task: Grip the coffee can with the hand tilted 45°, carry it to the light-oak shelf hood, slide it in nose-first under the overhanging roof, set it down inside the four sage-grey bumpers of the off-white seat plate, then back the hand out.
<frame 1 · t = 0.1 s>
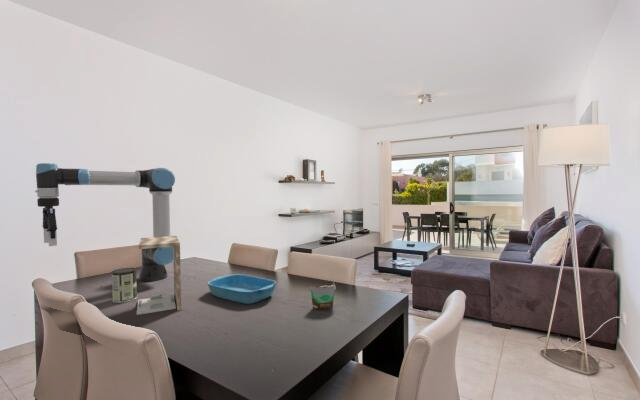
hand: (50, 244, 148), 28 cm above the table, tool pointing down, fingers open, 13 cm apart
coffee can: (124, 299, 156), on the table
shelf hood: (156, 305, 147), on the table
seat plate: (156, 305, 147), on the table
food container: (325, 308, 142), on the table
casserole dish: (241, 296, 161), on the table
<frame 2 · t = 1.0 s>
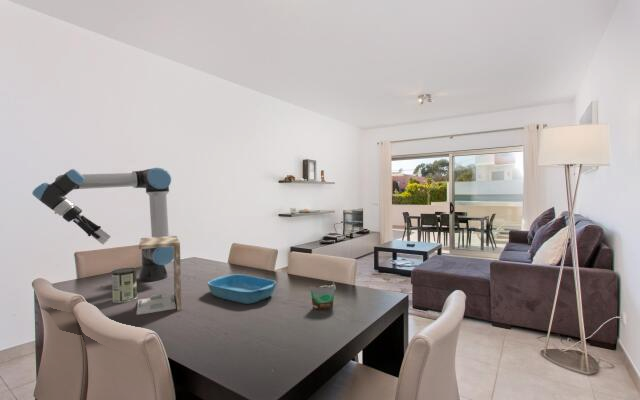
hand: (107, 240, 160), 28 cm above the table, tool tilted 45°, fingers open, 13 cm apart
nothing on the table moved.
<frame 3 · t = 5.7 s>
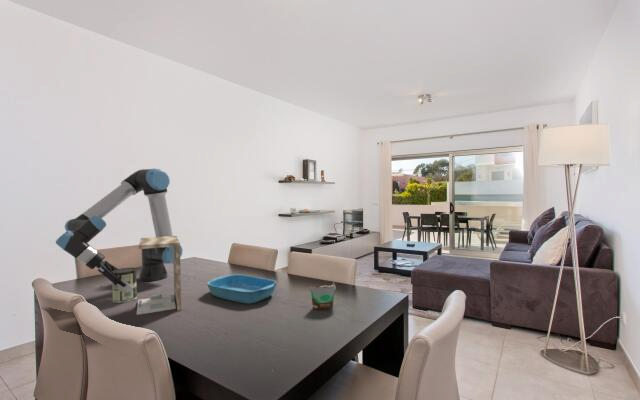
hand: (131, 286, 157), 6 cm above the table, tool tilted 45°, fingers closed on coffee can, 10 cm apart
coffee can: (124, 299, 156), on the table, touching gripper
everything else where it was.
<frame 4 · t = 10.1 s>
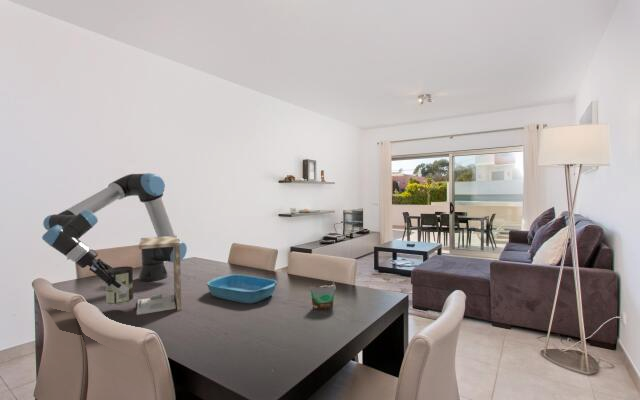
hand: (127, 287, 142), 10 cm above the table, tool tilted 45°, fingers closed on coffee can, 10 cm apart
coffee can: (119, 301, 141), point 4 cm above the table, touching gripper
everything else where it was.
when the fingers open (8 cm above the table, at t = 14.6 s): coffee can drops 1 cm, resting on seat plate.
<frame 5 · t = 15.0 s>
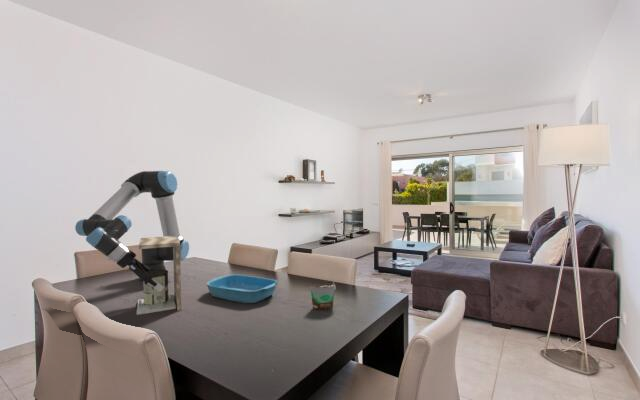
hand: (161, 285, 148), 9 cm above the table, tool tilted 45°, fingers open, 13 cm apart
coffee can: (156, 303, 147), point 1 cm above the table, touching seat plate
everything else where it was.
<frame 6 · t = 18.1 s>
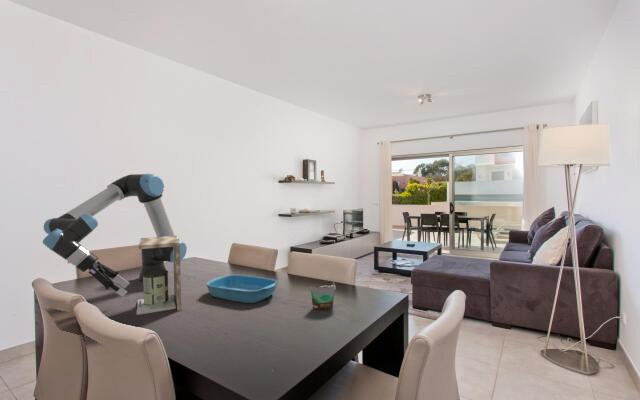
hand: (126, 289, 142), 9 cm above the table, tool tilted 45°, fingers open, 13 cm apart
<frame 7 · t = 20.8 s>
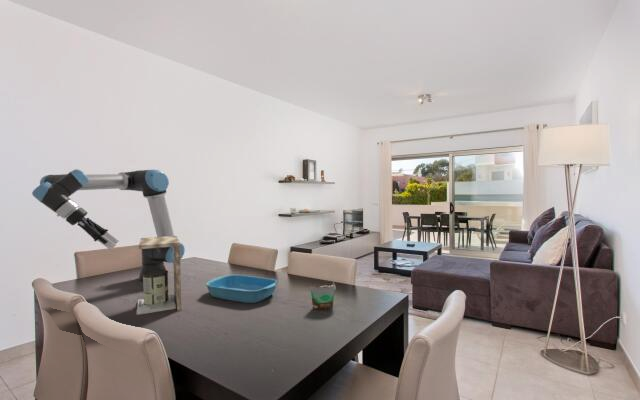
hand: (115, 245, 145), 28 cm above the table, tool tilted 45°, fingers open, 13 cm apart
at the end: coffee can 0.1 cm off-centre on the seat plate, point 0.8 cm above the seat plate's base; coffee can tilted 0°; the gripper is holding nothing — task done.
